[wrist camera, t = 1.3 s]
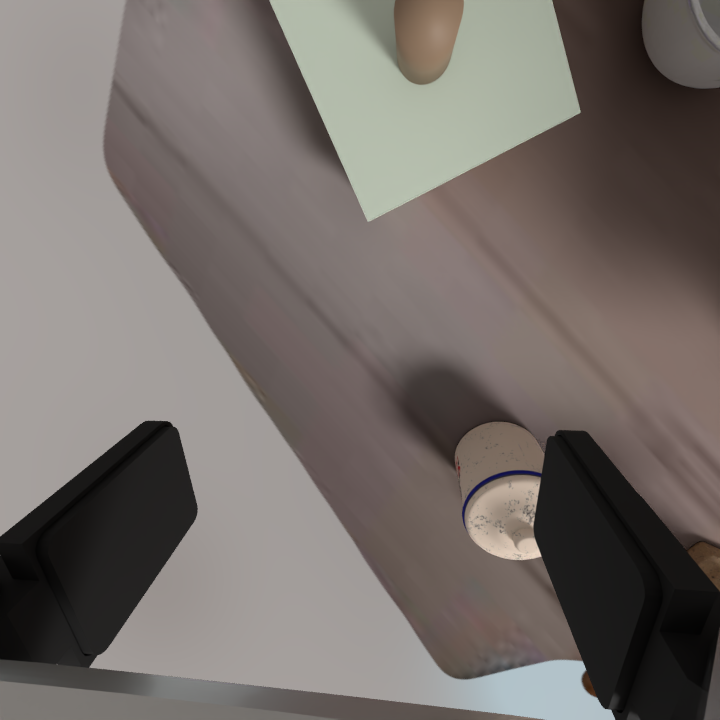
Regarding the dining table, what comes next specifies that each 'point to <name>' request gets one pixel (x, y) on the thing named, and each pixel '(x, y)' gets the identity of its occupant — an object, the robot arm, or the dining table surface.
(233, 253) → the dining table surface
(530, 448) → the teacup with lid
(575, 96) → the lid
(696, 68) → the teacup
